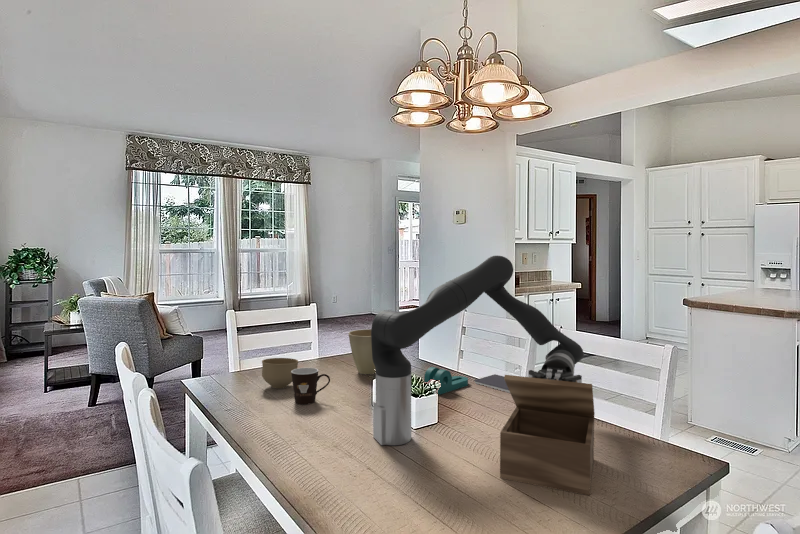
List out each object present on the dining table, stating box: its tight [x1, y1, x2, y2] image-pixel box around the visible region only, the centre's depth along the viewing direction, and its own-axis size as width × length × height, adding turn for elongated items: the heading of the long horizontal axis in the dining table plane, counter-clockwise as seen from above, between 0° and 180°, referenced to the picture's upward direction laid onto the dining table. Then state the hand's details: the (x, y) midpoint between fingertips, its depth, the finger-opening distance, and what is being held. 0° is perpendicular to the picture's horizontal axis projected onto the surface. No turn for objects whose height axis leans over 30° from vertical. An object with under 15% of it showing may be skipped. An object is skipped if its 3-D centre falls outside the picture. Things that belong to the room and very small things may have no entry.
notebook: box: [473, 373, 511, 394], centre depth 172 cm, size 13×2×21 cm
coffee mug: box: [291, 367, 331, 406], centre depth 154 cm, size 12×9×10 cm
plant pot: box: [347, 328, 376, 375], centre depth 190 cm, size 15×15×16 cm
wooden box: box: [499, 406, 595, 496], centre depth 108 cm, size 18×18×10 cm
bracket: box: [423, 366, 469, 396], centre depth 170 cm, size 18×7×8 cm, turn 134°
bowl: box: [261, 357, 299, 390], centre depth 171 cm, size 13×13×10 cm
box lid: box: [504, 374, 596, 418], centre depth 109 cm, size 18×18×1 cm
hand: (550, 387), depth 108 cm, fingers closed
